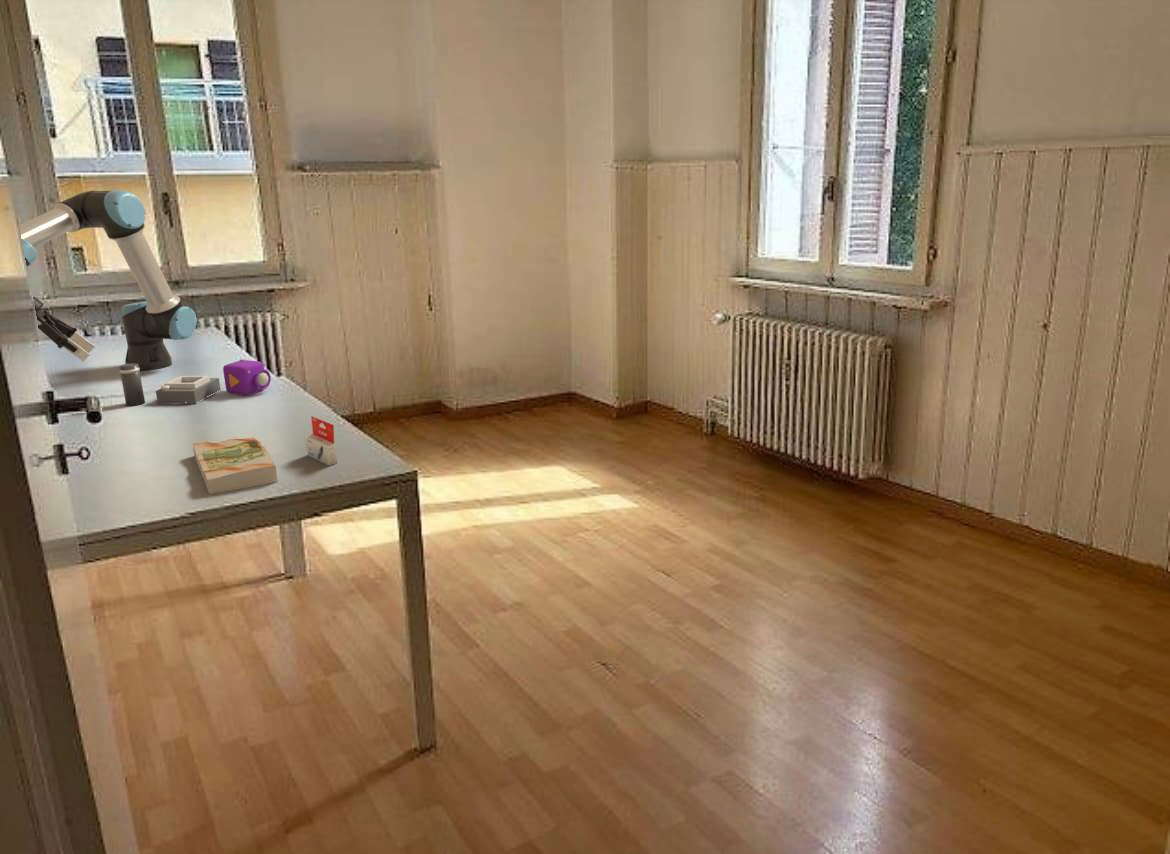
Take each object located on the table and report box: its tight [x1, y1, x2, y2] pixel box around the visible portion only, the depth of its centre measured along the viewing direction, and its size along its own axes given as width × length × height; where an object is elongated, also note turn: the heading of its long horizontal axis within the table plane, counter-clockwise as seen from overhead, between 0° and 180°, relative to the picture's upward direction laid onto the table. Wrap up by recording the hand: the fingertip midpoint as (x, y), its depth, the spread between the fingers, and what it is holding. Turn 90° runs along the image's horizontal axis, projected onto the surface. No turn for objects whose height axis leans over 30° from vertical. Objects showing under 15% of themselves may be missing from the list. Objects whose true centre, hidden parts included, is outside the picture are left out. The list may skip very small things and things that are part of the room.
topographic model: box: [192, 436, 278, 495], centre depth 205 cm, size 30×14×5 cm, turn 29°
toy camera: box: [222, 357, 272, 396], centre depth 273 cm, size 11×14×10 cm
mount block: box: [155, 375, 221, 404], centre depth 269 cm, size 16×12×6 cm
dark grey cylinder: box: [118, 363, 146, 407], centre depth 261 cm, size 5×5×12 cm
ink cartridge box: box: [304, 416, 338, 466], centre depth 210 cm, size 2×11×10 cm, turn 45°
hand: (89, 353), depth 255 cm, fingers open, 13 cm apart
